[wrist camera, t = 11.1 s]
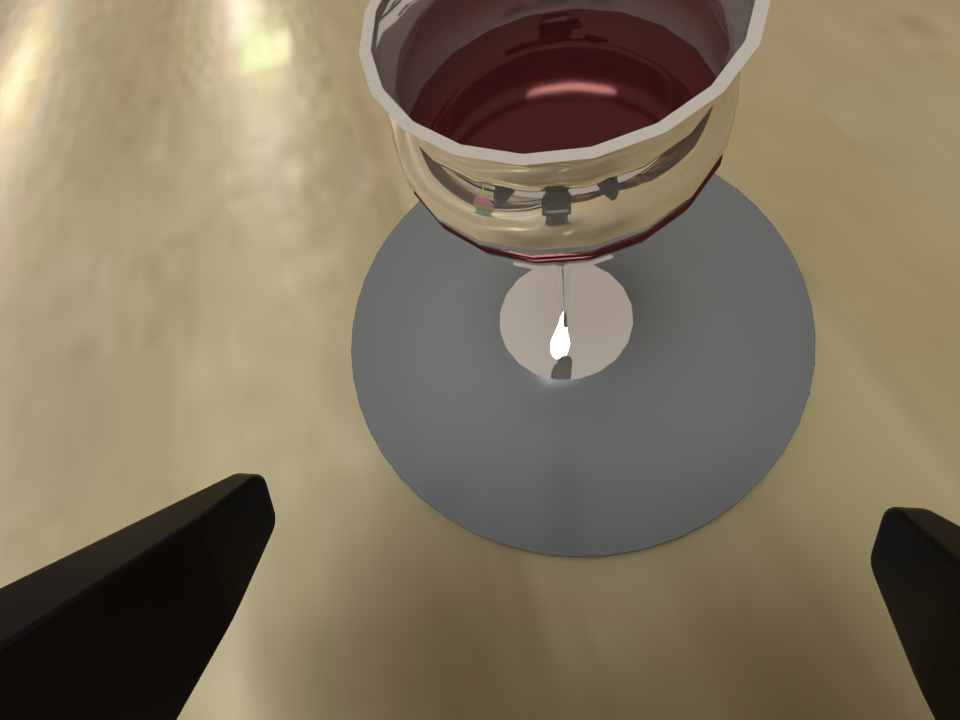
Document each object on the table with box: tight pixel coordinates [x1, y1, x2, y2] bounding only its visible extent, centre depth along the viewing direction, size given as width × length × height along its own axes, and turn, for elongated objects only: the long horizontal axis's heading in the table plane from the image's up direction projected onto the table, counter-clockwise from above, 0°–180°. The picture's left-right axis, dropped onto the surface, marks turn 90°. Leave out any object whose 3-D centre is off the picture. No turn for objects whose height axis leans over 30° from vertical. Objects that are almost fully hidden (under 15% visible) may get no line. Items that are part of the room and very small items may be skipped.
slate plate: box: [351, 173, 815, 557], centre depth 20 cm, size 17×17×1 cm
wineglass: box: [359, 0, 770, 380], centre depth 14 cm, size 7×7×12 cm
